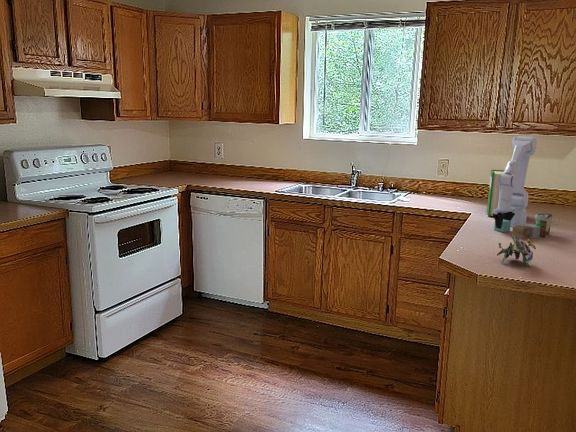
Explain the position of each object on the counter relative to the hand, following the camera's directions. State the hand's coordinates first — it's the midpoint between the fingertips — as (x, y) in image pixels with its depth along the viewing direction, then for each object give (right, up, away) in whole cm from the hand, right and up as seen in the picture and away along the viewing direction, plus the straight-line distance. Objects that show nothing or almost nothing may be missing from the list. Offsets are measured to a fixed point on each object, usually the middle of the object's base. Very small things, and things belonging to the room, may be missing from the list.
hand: (502, 227), depth 244 cm
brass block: (+3, -4, -13) cm, 14 cm away
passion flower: (-18, -12, -55) cm, 59 cm away
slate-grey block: (+9, -4, -11) cm, 14 cm away
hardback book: (+12, +6, +40) cm, 43 cm away
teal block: (0, -1, 0) cm, 1 cm away
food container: (+14, -4, -7) cm, 16 cm away
